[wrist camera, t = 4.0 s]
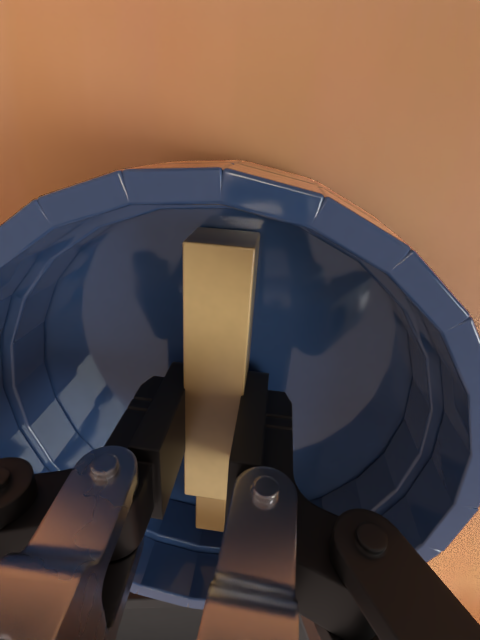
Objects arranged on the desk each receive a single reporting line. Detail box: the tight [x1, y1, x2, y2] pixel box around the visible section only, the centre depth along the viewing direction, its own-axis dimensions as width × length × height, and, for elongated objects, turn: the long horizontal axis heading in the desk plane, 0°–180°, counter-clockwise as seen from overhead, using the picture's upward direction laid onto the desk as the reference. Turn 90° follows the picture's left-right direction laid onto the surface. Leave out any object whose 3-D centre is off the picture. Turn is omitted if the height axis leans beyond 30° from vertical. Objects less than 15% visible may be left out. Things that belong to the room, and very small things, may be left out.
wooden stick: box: [182, 227, 260, 532], centre depth 11 cm, size 10×2×2 cm, turn 176°
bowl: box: [0, 160, 480, 610], centre depth 10 cm, size 13×13×4 cm
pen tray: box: [115, 592, 321, 640], centre depth 17 cm, size 14×10×2 cm
